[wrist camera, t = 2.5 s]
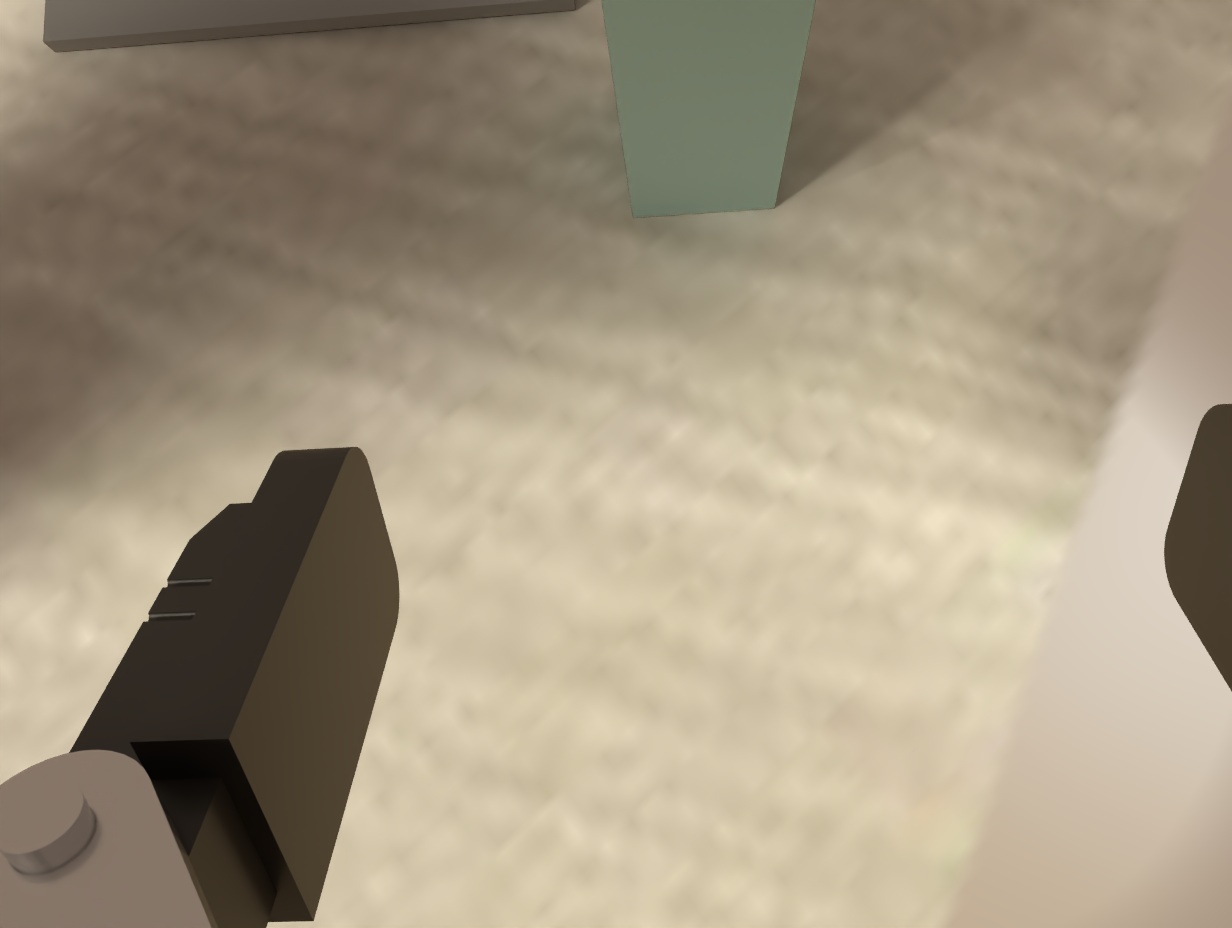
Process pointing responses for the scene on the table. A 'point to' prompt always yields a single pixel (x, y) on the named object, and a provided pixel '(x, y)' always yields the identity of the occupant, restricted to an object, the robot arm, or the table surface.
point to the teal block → (705, 99)
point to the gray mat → (249, 18)
